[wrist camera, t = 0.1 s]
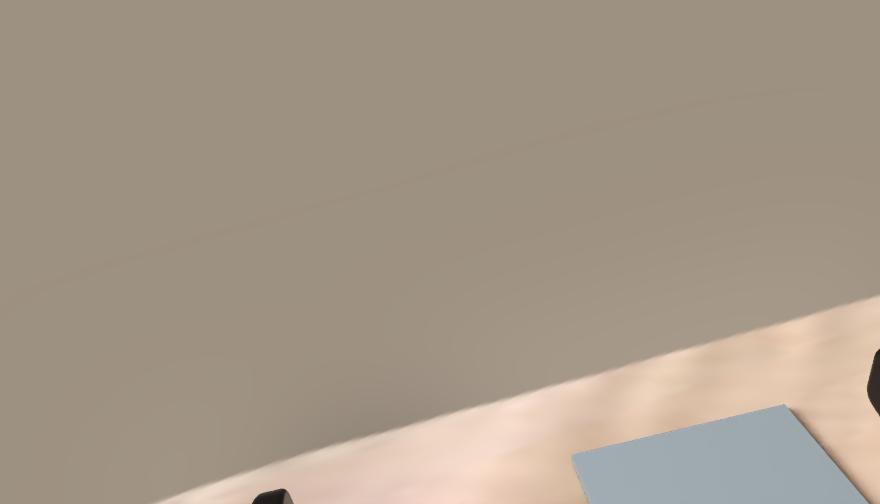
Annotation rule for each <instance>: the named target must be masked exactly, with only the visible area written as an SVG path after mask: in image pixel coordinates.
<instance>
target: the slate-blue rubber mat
mask: <svg viewBox="0 0 880 504" xmlns="http://www.w3.org/2000/svg"><path fill="white" fill-rule="evenodd" d="M572 462H573V465H574V467H575V470H576V472H577V475H578V477H579V480H580V482H581V484H582V487H583V489H584V492H585V494H586V497H587V499H588V502H589V504H869V503H868V502H867V501H866V500H865V498H864V497H863V496H862V495H861V494H860V492H859V491H858V490H857V489H856V488H855V487H854V485H853V484H852V483H851V482H850V481H849V480H848V478H847V477H846V476H845V475H844V474H843V472H842V471H841V470H840V469H839V468H838V467H837V465H836V464H835V463H834V462H833V461H832V460H831V458H830V457H829V456H828V455H827V454H826V452H825V451H824V450H823V449H822V448H821V447H820V445H819V444H818V443H817V442H816V441H815V440H814V438H813V437H812V436H811V435H810V434H809V432H808V431H807V430H806V429H805V428H804V427H803V425H802V424H801V423H800V422H799V421H798V420H797V418H796V417H795V416H794V415H793V414H792V412H791V411H790V410H789V409H788V408H787V407H786V405H785V404H784V405H779V406H775V407H771V408H767V409H763V410H758V411H754V412H750V413H746V414H742V415H737V416H733V417H729V418H725V419H721V420H716V421H712V422H708V423H704V424H700V425H695V426H691V427H687V428H683V429H679V430H674V431H670V432H666V433H662V434H658V435H653V436H649V437H645V438H641V439H636V440H632V441H628V442H624V443H620V444H615V445H611V446H607V447H603V448H599V449H594V450H590V451H586V452H582V453H578V454H573V455H572Z"/></svg>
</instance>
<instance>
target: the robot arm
mask: <svg viewBox="0 0 880 504" xmlns="http://www.w3.org/2000/svg"><path fill="white" fill-rule="evenodd" d="M867 393H868V397H869V399H870V402H871V404H872V405H873V407H874V408H875V410H876V411H877V413H878V414H879V416H880V349H879V350H878V351H877V352H876V354H875V356H874V360H873V364H872V368H871V372H870V376H869V380H868V384H867ZM252 504H294V503H293V501H292V499H291V496H290V494H289V493H288V491H287V490H285V489H278V490H274V491H269V492H265V493H262V494H259V495H258V496H257V497H256V498H255V499H254V501H253V503H252Z"/></svg>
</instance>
